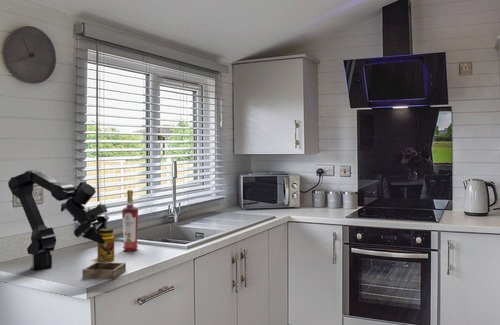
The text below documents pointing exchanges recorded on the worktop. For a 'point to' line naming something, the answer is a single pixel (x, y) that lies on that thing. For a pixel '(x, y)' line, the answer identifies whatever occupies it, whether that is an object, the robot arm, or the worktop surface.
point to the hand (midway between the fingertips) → (107, 241)
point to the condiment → (106, 247)
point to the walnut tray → (104, 270)
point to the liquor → (130, 223)
